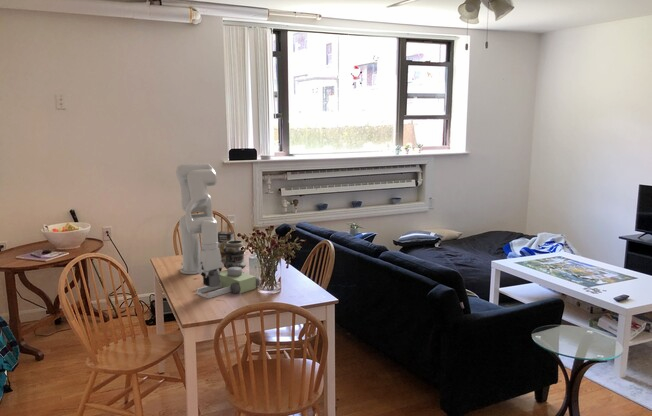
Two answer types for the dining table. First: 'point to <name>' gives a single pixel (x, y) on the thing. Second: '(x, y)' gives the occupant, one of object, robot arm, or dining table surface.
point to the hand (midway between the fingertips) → (211, 283)
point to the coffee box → (224, 242)
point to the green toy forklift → (231, 283)
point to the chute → (213, 278)
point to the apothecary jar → (234, 254)
